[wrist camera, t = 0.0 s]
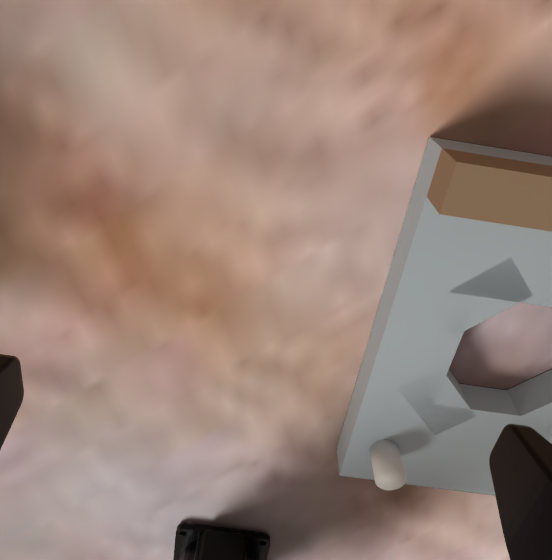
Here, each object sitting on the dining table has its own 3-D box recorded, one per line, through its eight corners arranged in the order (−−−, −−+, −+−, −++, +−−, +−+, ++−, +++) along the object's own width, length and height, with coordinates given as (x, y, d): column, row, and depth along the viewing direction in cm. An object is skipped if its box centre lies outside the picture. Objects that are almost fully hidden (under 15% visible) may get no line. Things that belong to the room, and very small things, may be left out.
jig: (556, 477, 31) (590, 537, 27) (336, 448, 30) (342, 506, 26) (738, 187, 22) (826, 221, 18) (429, 136, 21) (456, 162, 17)
